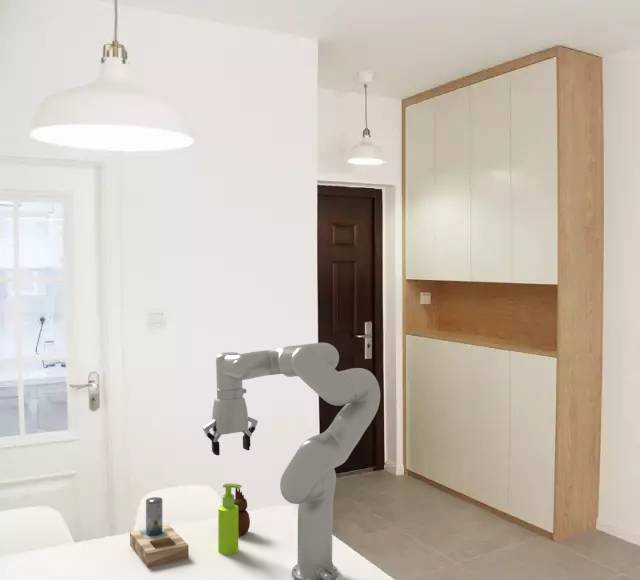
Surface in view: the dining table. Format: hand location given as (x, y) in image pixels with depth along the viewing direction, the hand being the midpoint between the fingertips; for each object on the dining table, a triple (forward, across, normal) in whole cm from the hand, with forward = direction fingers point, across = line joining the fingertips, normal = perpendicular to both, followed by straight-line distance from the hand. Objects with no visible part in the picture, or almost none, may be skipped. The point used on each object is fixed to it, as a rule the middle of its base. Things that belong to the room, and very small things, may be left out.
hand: (231, 452), depth 205 cm
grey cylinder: (+24, +19, -15) cm, 35 cm away
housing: (+29, +20, -11) cm, 36 cm away
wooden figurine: (+29, -7, -11) cm, 32 cm away
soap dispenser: (+30, +1, 0) cm, 30 cm away
